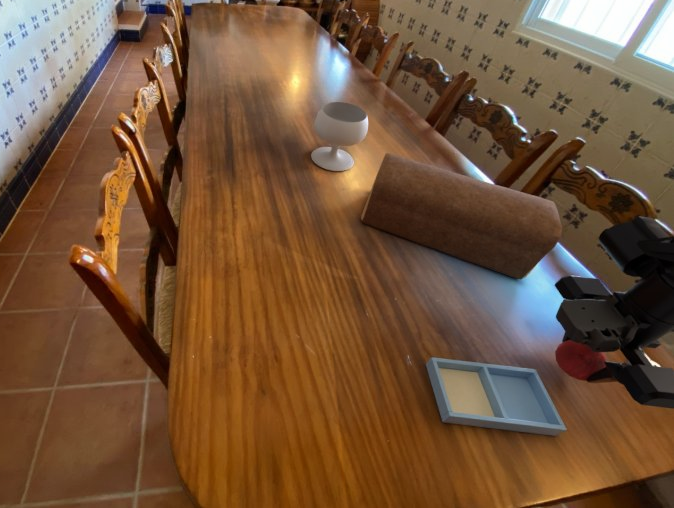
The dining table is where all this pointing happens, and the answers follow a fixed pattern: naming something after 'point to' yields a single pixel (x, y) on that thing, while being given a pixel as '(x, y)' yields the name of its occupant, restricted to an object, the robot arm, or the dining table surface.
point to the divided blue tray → (493, 397)
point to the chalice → (339, 134)
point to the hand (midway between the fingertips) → (576, 361)
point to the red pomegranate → (578, 359)
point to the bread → (462, 216)
